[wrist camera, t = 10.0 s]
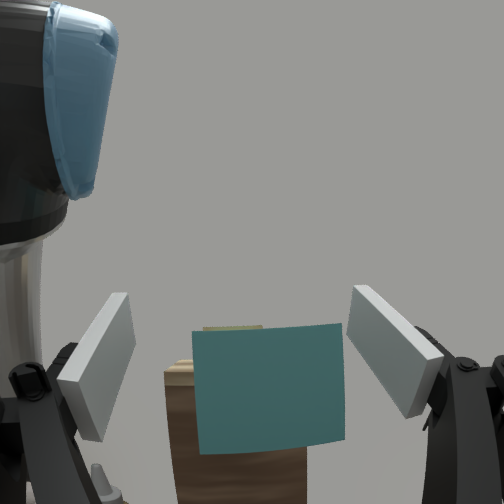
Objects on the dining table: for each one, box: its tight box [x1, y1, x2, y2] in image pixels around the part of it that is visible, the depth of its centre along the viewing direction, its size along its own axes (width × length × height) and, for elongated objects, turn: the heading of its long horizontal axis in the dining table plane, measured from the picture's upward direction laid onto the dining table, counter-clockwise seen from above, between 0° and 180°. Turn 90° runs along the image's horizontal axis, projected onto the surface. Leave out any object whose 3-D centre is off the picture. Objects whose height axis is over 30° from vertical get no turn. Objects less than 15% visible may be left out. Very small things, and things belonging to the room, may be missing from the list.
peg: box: [192, 323, 345, 454], centre depth 18 cm, size 23×5×4 cm, turn 6°
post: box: [164, 360, 307, 504], centre depth 28 cm, size 12×12×30 cm
